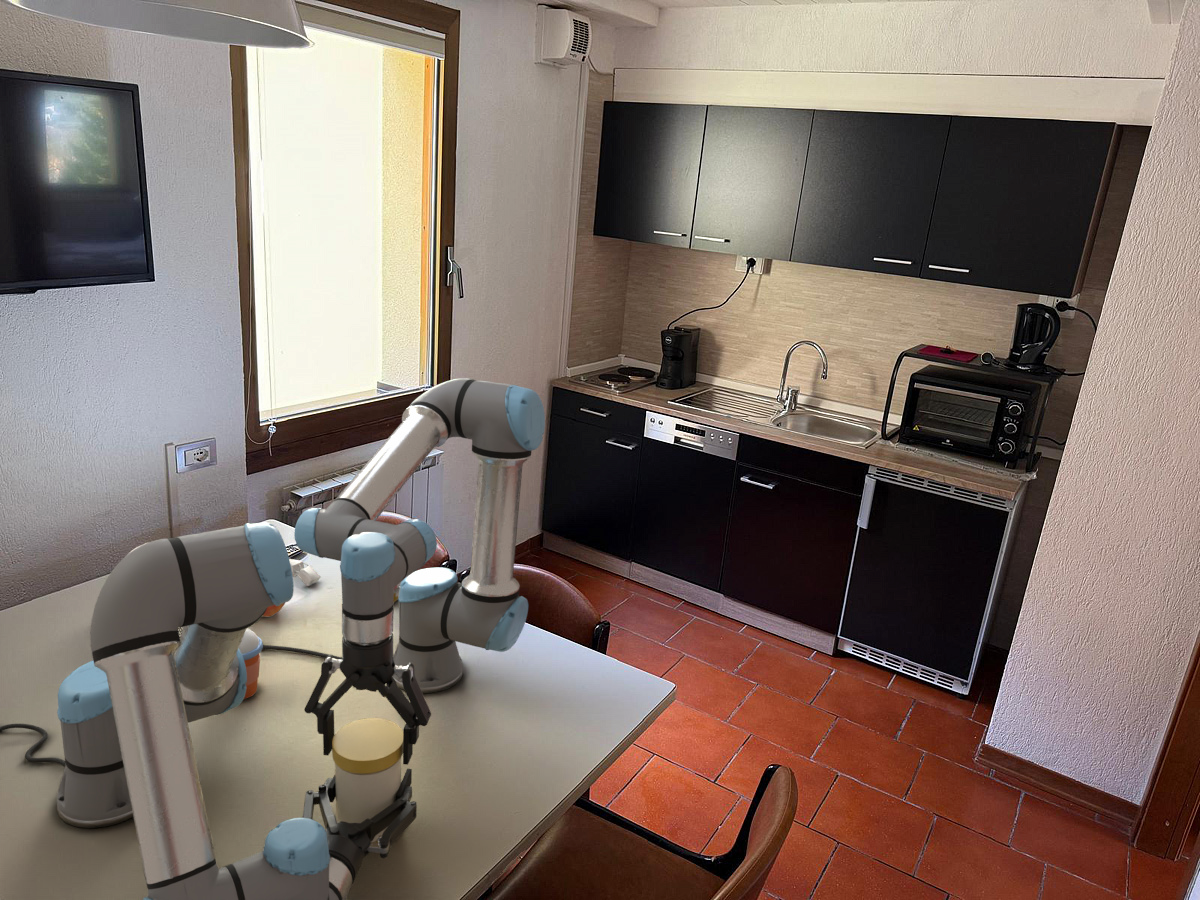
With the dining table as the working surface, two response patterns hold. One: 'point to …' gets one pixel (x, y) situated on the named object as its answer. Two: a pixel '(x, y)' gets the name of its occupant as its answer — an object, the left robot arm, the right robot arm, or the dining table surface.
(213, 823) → the dining table surface
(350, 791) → the jar
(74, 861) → the dining table surface
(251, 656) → the cup with straw
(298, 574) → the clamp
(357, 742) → the lid
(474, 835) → the dining table surface
